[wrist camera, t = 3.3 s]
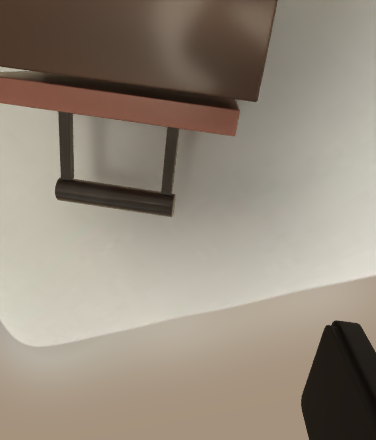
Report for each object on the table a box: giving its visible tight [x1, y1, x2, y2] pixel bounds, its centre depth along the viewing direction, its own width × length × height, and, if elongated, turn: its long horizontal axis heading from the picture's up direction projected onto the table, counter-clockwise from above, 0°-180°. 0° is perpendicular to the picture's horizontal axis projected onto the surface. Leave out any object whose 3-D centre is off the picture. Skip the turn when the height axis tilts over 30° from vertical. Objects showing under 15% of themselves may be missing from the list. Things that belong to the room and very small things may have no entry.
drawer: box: [0, 71, 240, 217], centre depth 17 cm, size 20×12×7 cm, turn 173°
